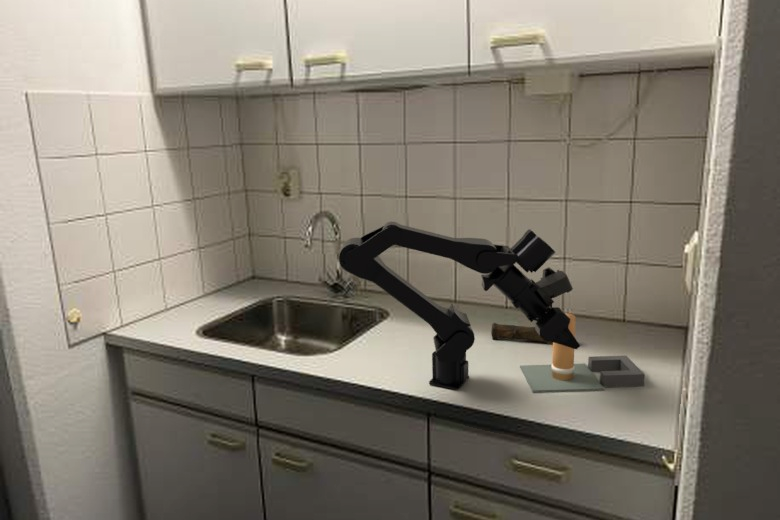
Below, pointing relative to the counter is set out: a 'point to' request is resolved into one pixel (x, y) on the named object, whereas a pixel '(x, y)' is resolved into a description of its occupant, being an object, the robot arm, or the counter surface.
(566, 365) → the orange peg
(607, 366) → the dark grey piece
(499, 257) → the robot arm
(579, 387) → the mat
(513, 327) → the wooden log
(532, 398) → the counter surface
